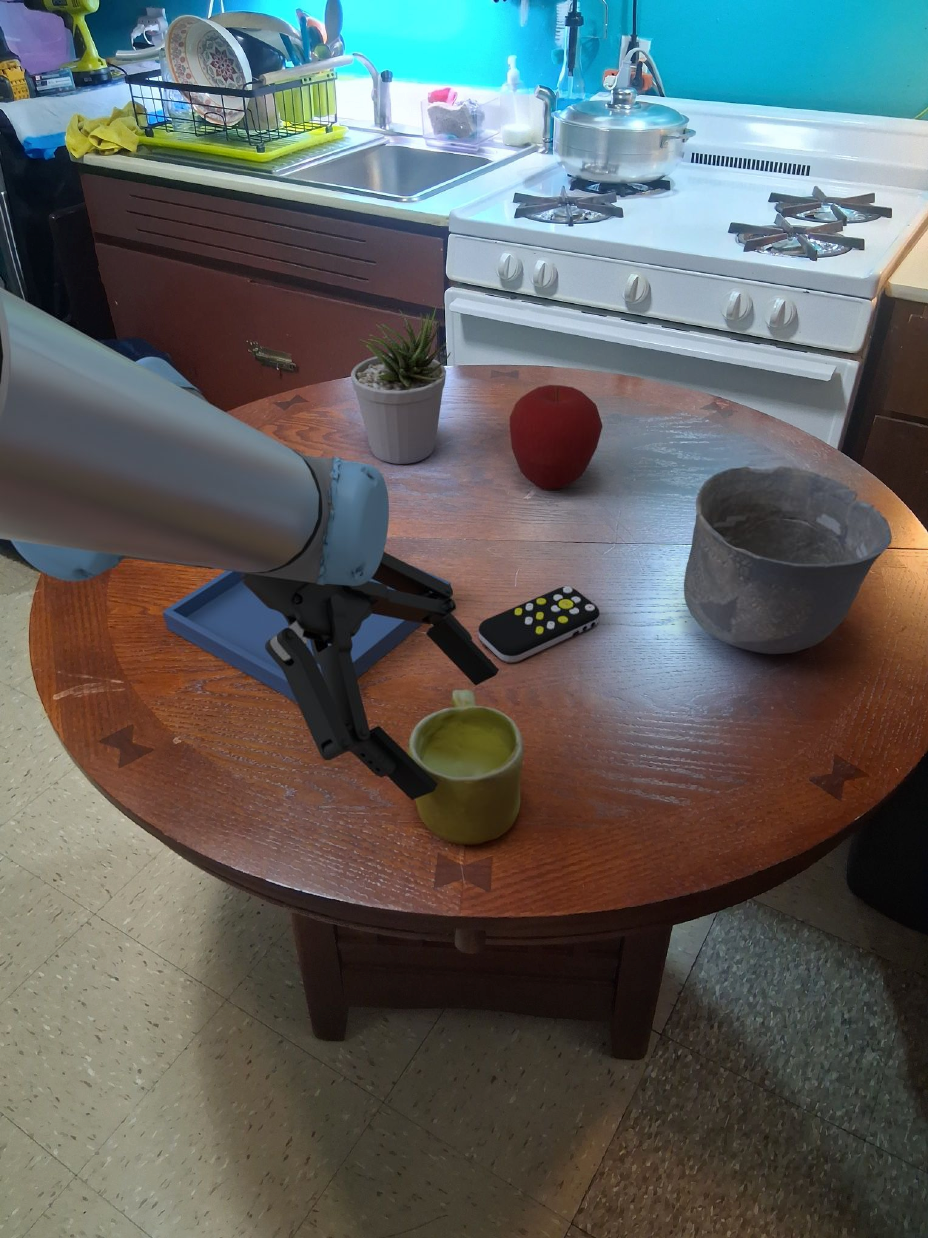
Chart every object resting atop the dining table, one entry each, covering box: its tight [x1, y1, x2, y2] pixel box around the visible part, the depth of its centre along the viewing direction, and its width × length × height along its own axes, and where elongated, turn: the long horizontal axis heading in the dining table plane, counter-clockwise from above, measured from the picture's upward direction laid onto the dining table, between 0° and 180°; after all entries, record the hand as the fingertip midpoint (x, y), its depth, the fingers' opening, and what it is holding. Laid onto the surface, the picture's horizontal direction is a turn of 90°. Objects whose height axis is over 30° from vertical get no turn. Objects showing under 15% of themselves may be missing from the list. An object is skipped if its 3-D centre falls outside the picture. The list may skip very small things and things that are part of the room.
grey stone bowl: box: [683, 465, 893, 655], centre depth 87 cm, size 18×18×15 cm
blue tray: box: [161, 565, 452, 703], centre depth 94 cm, size 22×22×2 cm
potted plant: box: [350, 307, 452, 465], centre depth 116 cm, size 13×14×20 cm
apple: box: [509, 384, 603, 491], centre depth 112 cm, size 12×12×13 cm
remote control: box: [478, 586, 600, 663], centre depth 92 cm, size 6×13×2 cm, turn 124°
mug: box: [406, 689, 525, 846], centre depth 73 cm, size 12×10×10 cm
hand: (458, 731), depth 71 cm, fingers open, 13 cm apart
